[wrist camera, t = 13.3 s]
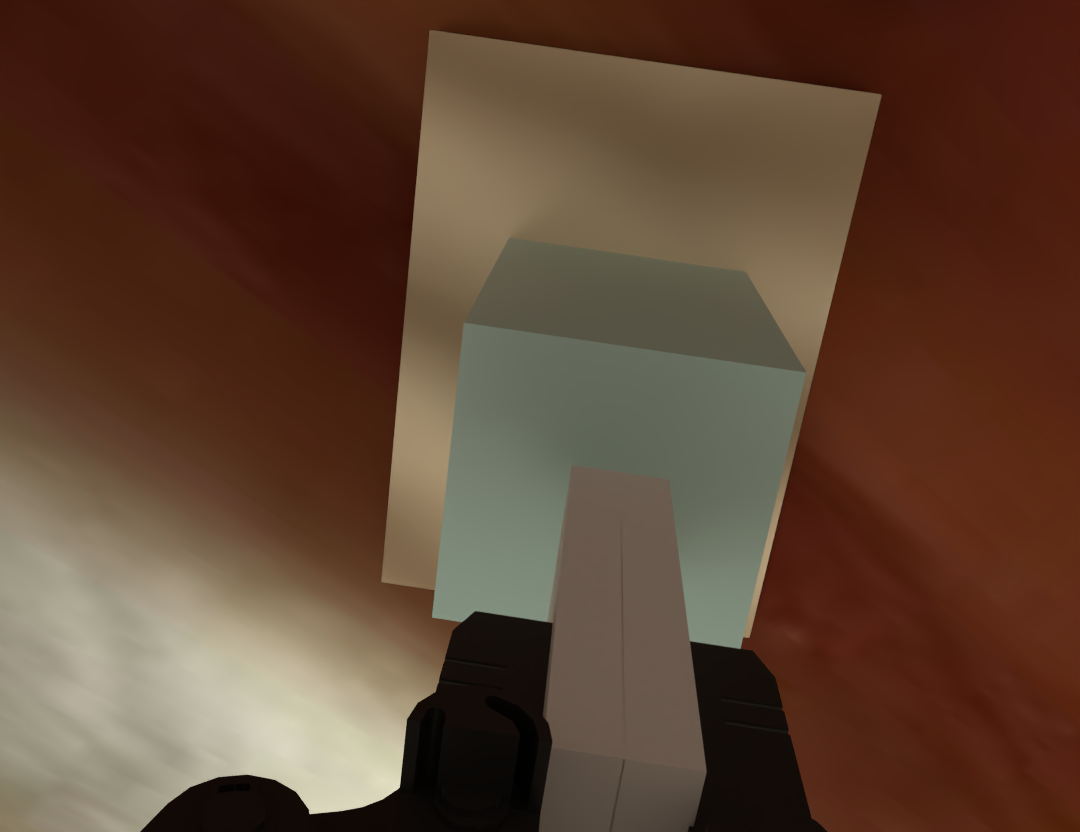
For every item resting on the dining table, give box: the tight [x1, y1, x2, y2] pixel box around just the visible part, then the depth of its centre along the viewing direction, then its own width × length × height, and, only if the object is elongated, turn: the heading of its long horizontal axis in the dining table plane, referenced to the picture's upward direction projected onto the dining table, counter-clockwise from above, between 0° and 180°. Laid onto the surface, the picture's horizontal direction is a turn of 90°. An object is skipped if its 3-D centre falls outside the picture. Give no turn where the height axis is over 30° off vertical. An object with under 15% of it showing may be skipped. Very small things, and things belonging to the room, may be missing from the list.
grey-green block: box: [432, 238, 806, 649], centre depth 21 cm, size 6×6×8 cm
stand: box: [381, 30, 882, 638], centre depth 22 cm, size 14×10×7 cm
